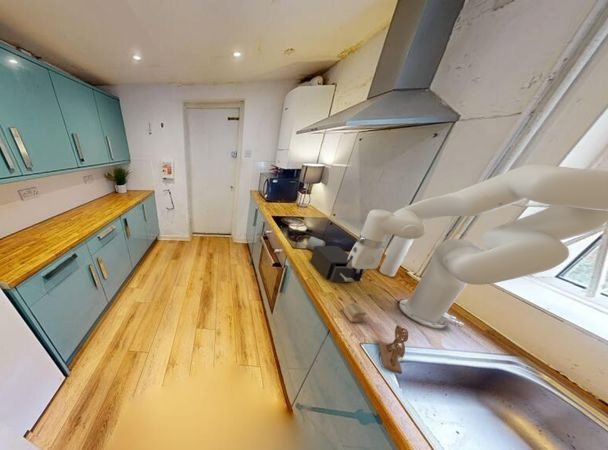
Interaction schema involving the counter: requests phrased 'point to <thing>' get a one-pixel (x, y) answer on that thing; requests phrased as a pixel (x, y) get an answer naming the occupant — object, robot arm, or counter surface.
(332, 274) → the black pull-out drawer
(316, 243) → the ceramic mug
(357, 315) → the block
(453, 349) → the counter surface
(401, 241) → the paper towel roll
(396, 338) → the brown irregular upright piece
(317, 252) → the black drawer cabinet housing
